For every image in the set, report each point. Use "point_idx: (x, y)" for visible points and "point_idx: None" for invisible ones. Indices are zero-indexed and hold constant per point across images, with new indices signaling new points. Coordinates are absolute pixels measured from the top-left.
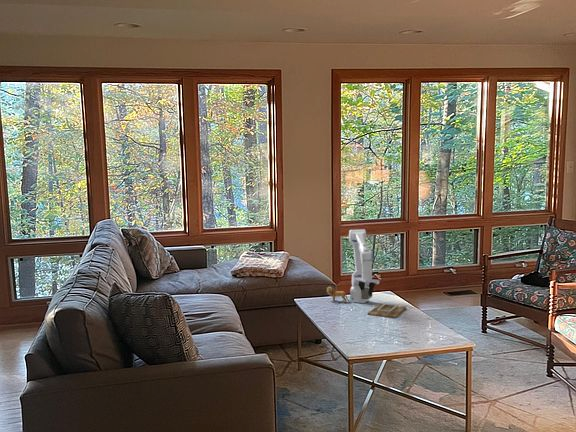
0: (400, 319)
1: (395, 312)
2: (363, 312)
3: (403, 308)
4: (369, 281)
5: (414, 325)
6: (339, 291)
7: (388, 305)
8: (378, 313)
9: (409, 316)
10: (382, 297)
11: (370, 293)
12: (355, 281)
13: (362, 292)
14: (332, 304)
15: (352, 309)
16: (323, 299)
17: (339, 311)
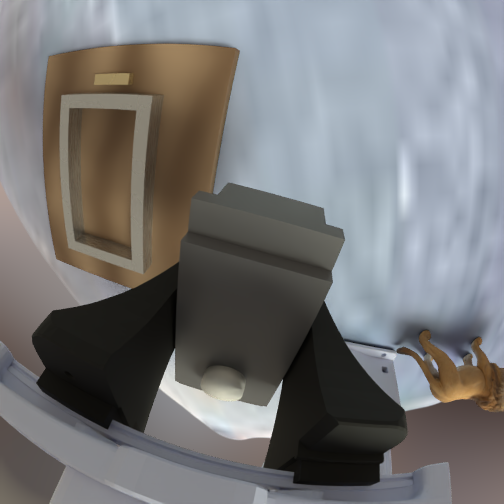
0: (37, 51)
1: (58, 136)
2: (290, 108)
3: (54, 230)
4: (58, 435)
5: (3, 13)
6: (463, 395)
7: (116, 250)
8: (144, 63)
9: (17, 124)
10: (225, 404)
11: (177, 262)
12: (437, 471)
13: (303, 221)
14: (496, 292)
15: (395, 189)
16: (500, 355)
17: (483, 130)
